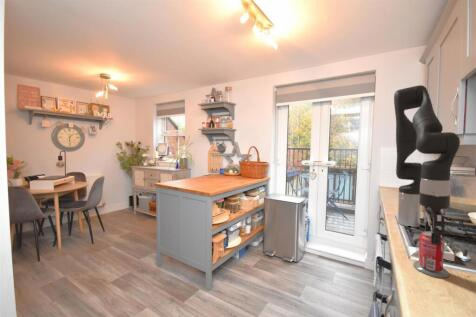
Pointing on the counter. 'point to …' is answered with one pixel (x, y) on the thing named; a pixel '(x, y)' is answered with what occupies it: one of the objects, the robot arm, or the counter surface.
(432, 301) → the counter surface
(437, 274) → the coaster
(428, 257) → the beverage can
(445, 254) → the base
